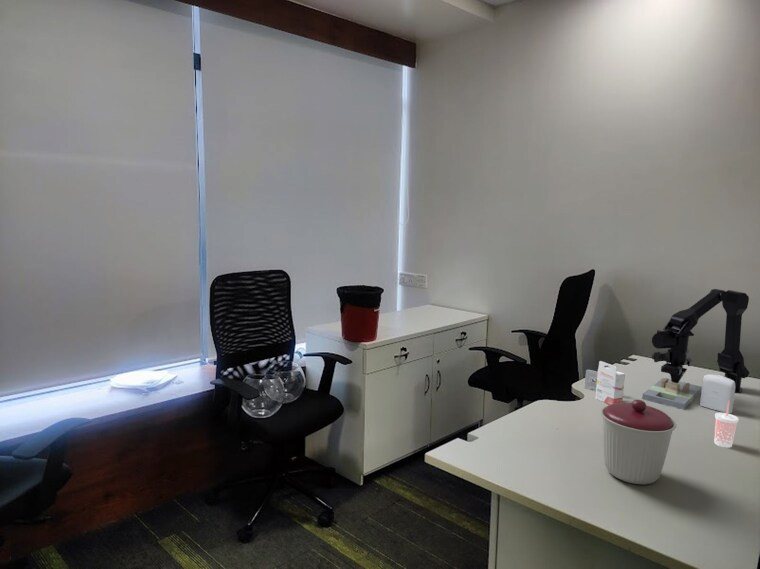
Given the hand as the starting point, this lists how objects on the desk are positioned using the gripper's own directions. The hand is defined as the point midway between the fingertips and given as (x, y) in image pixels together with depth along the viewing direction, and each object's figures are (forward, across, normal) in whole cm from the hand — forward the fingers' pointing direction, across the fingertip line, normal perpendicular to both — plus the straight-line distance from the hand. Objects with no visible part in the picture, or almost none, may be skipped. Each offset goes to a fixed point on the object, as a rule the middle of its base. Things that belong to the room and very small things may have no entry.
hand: (674, 386), depth 205 cm
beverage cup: (+3, +36, +23) cm, 43 cm away
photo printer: (+3, +5, +15) cm, 16 cm away
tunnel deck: (+3, +1, 0) cm, 3 cm away
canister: (+3, +76, +9) cm, 77 cm away
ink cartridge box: (+3, +26, -15) cm, 31 cm away
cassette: (+3, +18, -21) cm, 28 cm away
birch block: (+1, +3, 0) cm, 3 cm away
